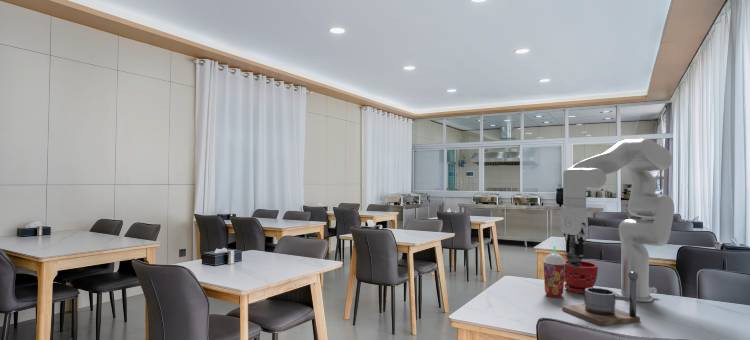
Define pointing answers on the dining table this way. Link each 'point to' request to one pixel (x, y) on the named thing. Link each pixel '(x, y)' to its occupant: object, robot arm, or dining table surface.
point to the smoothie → (554, 274)
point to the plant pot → (580, 276)
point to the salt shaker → (571, 256)
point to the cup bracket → (606, 305)
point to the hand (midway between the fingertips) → (574, 253)
